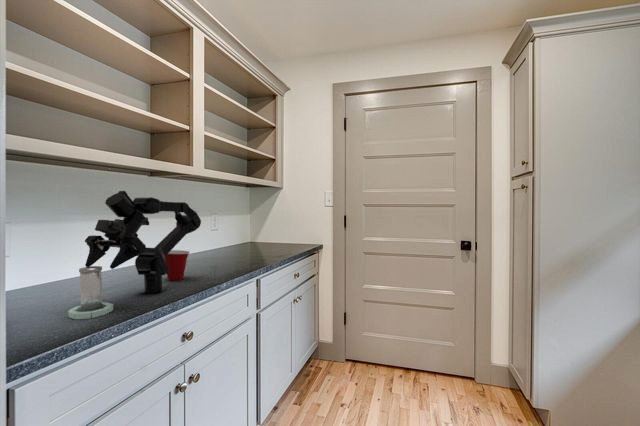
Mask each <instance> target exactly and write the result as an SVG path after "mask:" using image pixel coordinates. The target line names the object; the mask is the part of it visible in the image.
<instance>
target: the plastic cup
mask: <svg viewBox="0 0 640 426" xmlns="http://www.w3.org/2000/svg"><path fill="white" fill-rule="evenodd" d="M190 253H191V252H190V251H188V250H183V249H182V250H181V249H180V250H179V249H172V250H171V251H170V252H169V253H168V254H167V255H166V256H165V264H166V265H167V266H168V268H169V269H168V273H167V274H166V277H167V280H168V281H169V282H177V281H181V280H183V279H184V276H185V271H186V265H187V259H188V257H189V254H190Z"/></svg>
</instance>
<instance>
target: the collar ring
mask: <svg viewBox="0 0 640 426" xmlns="http://www.w3.org/2000/svg"><path fill="white" fill-rule="evenodd" d="M113 311H114V303H111V302H107V301H105V302H104V301H102V309H98V310H94V311H88V312H81V305H77V306H74V307H72V308H70V309H69V310H68V311H67V318H70V319H72V320H87V319H94V318H99V317H101V315H102V316H105V314H106V315H108V314H110V313H111V312H113ZM109 312H110V313H109ZM107 313H108V314H107Z"/></svg>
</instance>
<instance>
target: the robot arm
mask: <svg viewBox="0 0 640 426" xmlns="http://www.w3.org/2000/svg"><path fill="white" fill-rule="evenodd" d="M104 204H105V205H106V206H107V208H109V209H110V210H111V212H112V213H113V214H114V215H115V216H116V217H117V218H115V219H114V220H113V219H112V220H110V219H98V220H97V223H96V225H95V228H94V230H95V231H96V232H101V233H102V234H103V236H104V237H105V238H107V239H105V238H104V237H103V236H101V235H93V234H92V235H88V236H87V237H86V238H85V239H84V242H85V243H86V245H87V246H88V248H89V250H88V255H87V258H86V261H85V265H84V266H85V267H91V266H93V265H94V264H95V263H97V262H98V261H99V260H100V259H101V258H103V257H104V256H105V255H106V254H107V253H106V252H108V251H109V250H110V249H111V248H117V249H119V250H118V252H117V253H116V255H115V257H114V259H113V260H112V261H111V263H110V266H109V268H110V269H111V270H114V269H115V268H117V267H119V266H120V265H122V264H124V263H126V262H128V261H130V260H131V259H133V258H135V257H136V258H135V261H134V265H135V268H136V271H137V274H138V276H140V275H141V276H143V278H144V279H143V281H144V285H143V287H144V289H143V290H142V291H141V292H140V294H141V295H145V294H159V293H160V294H161V293H163V291H164V290H165V289H166V286H163V276H166V275H167V273H168V269H169V268H168V266H167V265H166V264H165V256H166V255H167V254H168V253H169V252H170V251H171V250H174V248H175V247H176V246H177V245H178V244H179V243H180V242H181V240H183V238H184V237H186V235H188V234H190V233H193V232H195V231H197V230H198V229H199V228H200V226H201V224H202V220H201V218H200V216H199V215H198V213H197V212H196V211H195V210H194V209H193V208H191V207H190V205H189V204H188V203H187V202H185V201H183V202H182V201H180V202H179V201H178V202H177V201H176V202H175V201H161V199H158V198H155V197H134V199H133V200H132V198H131V197H130V196H129V194H128V193H127V191H125V190H119V191H118V192H117V193H114V194H112V195H111V196H108V197H107V199H106V200H105V202H104ZM160 212H170V213H171V212H173V213H174V219H175V221H176V223H175V224H176V225H175V227H174V229H172V230H171V231H170V232H169V233H168V234H167V235H166V236H165V237H164V238H163V239H162V240H160V242H158V243H157V245H156V246H154V247H146V244H145V243H144V242H143V241H142V240H141V238H139V237H138V236H139V234H138V231H139V230H140V228H141V227H142V226H149V225H150V221H149V217H146V216H145V215H154V214H159V213H160ZM182 213H184V214H182ZM121 218H122V219H121Z"/></svg>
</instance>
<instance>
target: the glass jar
mask: <svg viewBox="0 0 640 426" xmlns="http://www.w3.org/2000/svg"><path fill="white" fill-rule="evenodd" d="M102 271H103V266H101V265H98V266H97V265H94V266H93V265H91V266H90V267H86V266H85V267H80V268H79V269H78V272H79V281H80V283H79V284H80V287H79V288H80V289H79V290H80V306H81V312H88V311H94V310H98V309H102V302H103V289H102V288H103V285H102V284H103V283H102Z"/></svg>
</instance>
